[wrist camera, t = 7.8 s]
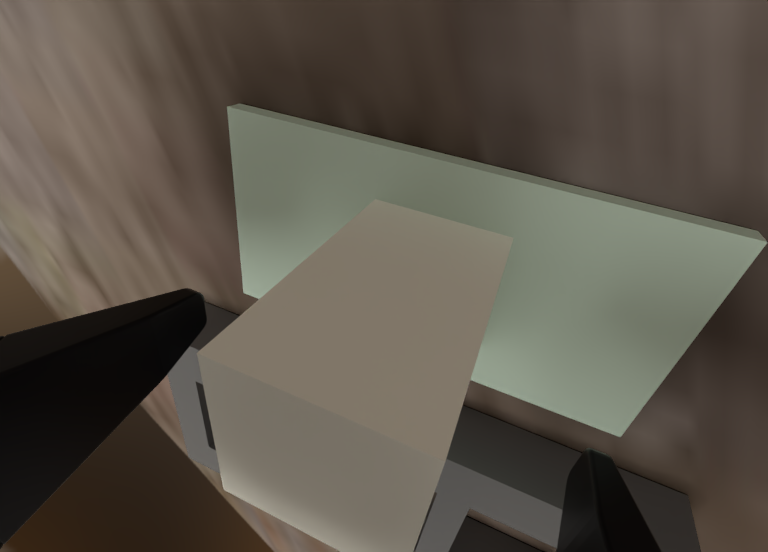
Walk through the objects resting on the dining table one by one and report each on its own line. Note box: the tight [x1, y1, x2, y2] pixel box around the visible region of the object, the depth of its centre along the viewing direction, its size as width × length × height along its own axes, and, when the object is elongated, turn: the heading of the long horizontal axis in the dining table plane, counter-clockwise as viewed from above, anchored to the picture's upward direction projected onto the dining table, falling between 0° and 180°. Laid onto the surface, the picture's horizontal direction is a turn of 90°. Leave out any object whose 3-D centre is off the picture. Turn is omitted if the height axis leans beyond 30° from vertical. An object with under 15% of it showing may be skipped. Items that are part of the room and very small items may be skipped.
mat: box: [227, 104, 767, 437], centre depth 13 cm, size 14×7×1 cm, turn 82°
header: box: [168, 302, 701, 552], centre depth 18 cm, size 20×9×2 cm, turn 82°
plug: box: [197, 199, 513, 552], centre depth 10 cm, size 4×4×7 cm
